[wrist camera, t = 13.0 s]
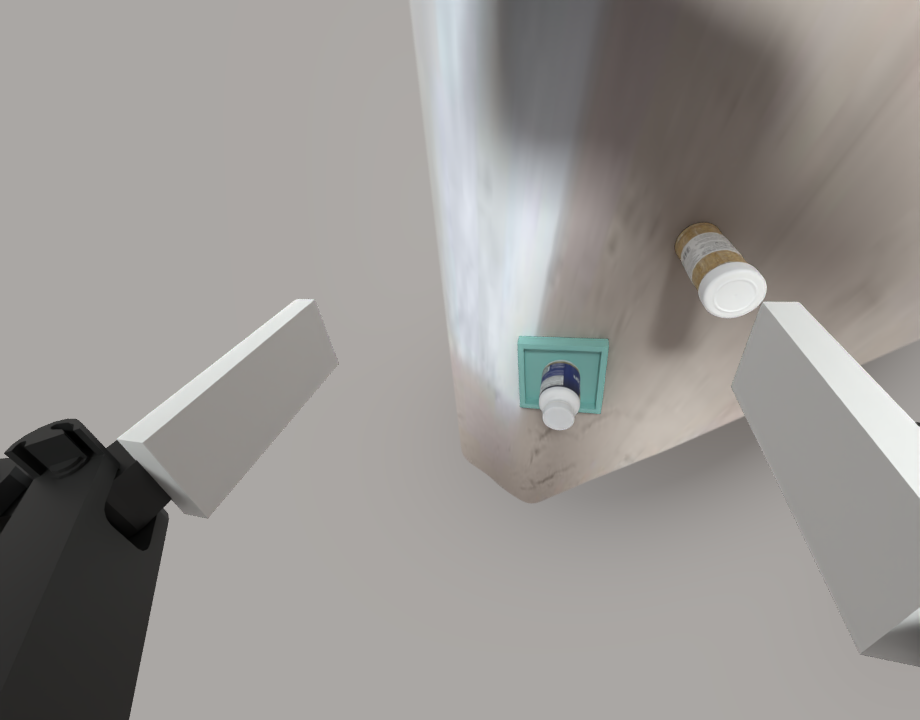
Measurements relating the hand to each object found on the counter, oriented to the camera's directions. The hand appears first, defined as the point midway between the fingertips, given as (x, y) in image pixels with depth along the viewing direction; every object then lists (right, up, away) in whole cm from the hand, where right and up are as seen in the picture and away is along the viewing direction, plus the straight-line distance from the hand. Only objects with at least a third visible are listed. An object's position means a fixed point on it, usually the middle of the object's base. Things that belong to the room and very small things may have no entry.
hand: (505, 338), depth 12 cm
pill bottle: (+14, -3, +44) cm, 46 cm away
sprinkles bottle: (+25, +12, +30) cm, 41 cm away
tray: (+14, -2, +45) cm, 47 cm away
